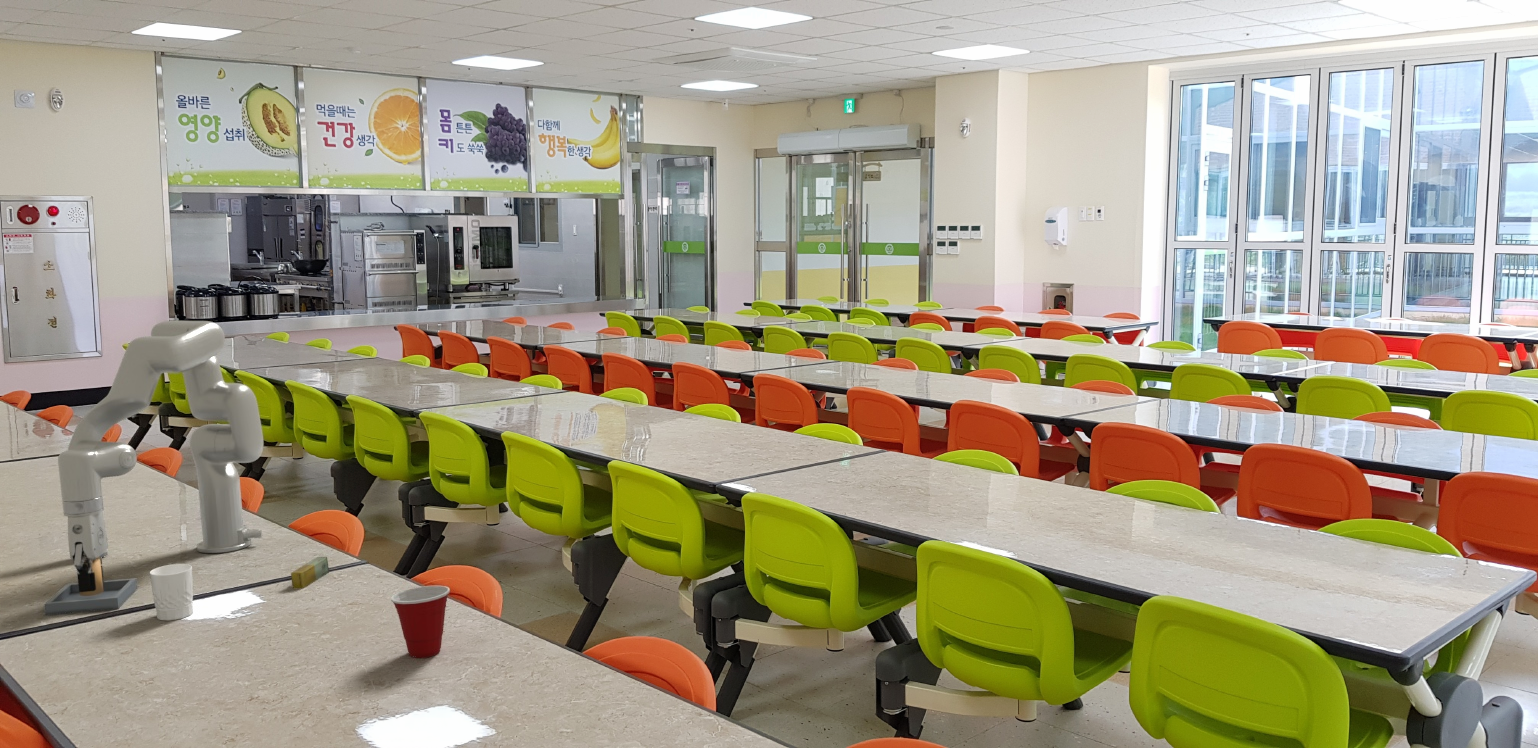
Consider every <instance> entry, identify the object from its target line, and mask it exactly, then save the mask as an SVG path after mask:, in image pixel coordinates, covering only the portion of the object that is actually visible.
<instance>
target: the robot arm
mask: <svg viewBox="0 0 1538 748" xmlns="http://www.w3.org/2000/svg"><path fill="white" fill-rule="evenodd" d="M225 338H226V336H225V332H224V330H223V328H222V327H221V326H220V325H219V324H218V323H216V322H215V321H214V322H213V321H208V320H166V321H160V322H157V323H156V324H155V325H154V326H153V327H152V329H151V332H150V336H141V337H136V338H134V339H133V340H131V341H130V342H129V343H128V345H127V347H126V349H125V352H124V353H123V357H122V359H121V362H120V365H119V367H118V370H117V371H116V372H117V373H116V375H115V378H114V380H113V383H112V384H111V388H110V390H109V392H108V394H107V395H106V396H105V397H104V398H103V399H102V400H100V401H99V402H98V403H97V404H95V405H94V406H93V407H91V408H92V409H90V410H89V411H88V412H87V413H86V414H85V415H84V416H83V417H82V418H81V420H79V422H78V424H77V425H76V426H75V429H74V432H73V434H72V436H71V439H70V442H69V445H68V447H67V450H65V451H62V452H60V453H59V455H58V457H57V465H58V472H59V473H58V476H59V484H60V493H61V502H62V510H63V511H62V512H63V516H64V517H67V537H68V551H69V556H70V560H71V561H73V562H74V563H73V566H74V567H75V569H76V575H77V583H78V586H79V592H88V591H95V590H96V582H95V572H93V568H92V560H96V559H100V562H101V572H102V582H104V581H105V580H104V570H103V560H102V559H103V558H101V555H102V554H103V553H104V552H105V551H106V550H107V551H108V549H109V542H108V540H109V539H108V534H107V529H106V528H107V527H106V523H105V516H103V514H104V510H105V508H104V507H105V506H104V497H103V491H102V490H103V489H102V479H105V478H113V477H120V476H124V475H126V474H128V473H129V472H131V471H132V470H133V469H134V467H135V466H136V464H137V461H138V460H137V459H138V454H137V452H136V450H135V449H134V448H133V447H132V446H131V445H129V444H127V443H125V442H119V441H117V442H116V441H103V440H102V439H103V438H104V436H105V434H106V433H107V432H108V431H109V430H110V429H111V428H112V427H113V426H115V425H117V424H119V422H122V421H124V420H126V419H129V418H130V417H133V416H135V415H137V414H139V413H141V412H143V411H145V410H146V409H147V408H149V406H150V405H151V402H152V399H153V397H154V393H155V391H156V388H157V385H158V383H159V380H160V378H161V375H162V374H168V373H169V374H180V373H182V377H183V381H184V386H185V392H186V396H187V401H188V405H189V410H190V412H191V414H192V416H193V417H194V418H195V419H197V420H200V421H208V422H228V423H209V424H203V425H201V426H199V427H197V428H196V429H195V430H194V431H192V434H191V436H190V439H189V448H190V453H191V455H192V459H193V461H194V466H195V470H196V476H197V477H196V478H197V485H198V499H199V510H200V521H201V533H202V535H201V536H202V541H200V542H199V543H197V544H196V551H198V552H200V553H204V554H220V553H229V552H234V551H237V550H242V549H245V548H246V547H249V546H250V545H251V544H252V539H261V538H263V531H262V530H260V529H259V528H257V529H249V528H248V527H247V526H248V525H247V524H244V518H243V505H242V493H241V480H240V475H239V472H238V469H237V468H236V466H235V464H240V463H241V464H247V463H248V464H249V463H253V462H255V461H256V460H258V459H259V458H260V457H261V456H262V453H263V452H264V450H263V449H264V434H263V427H262V421H261V417H260V410H259V404H258V401H257V396H256V395H255V393H254V391H253V390H252V389H251V387H249V386H248V385H246V384H243V383H239V382H225V380H224V377H223V373H222V369H221V364H220V361H219V359H218V357H217V355H218V354H219V353H220V352H221V351H222V349H223V348H224V345H225V341H226V340H225ZM102 511H103V512H102ZM83 557H85V558H88V559H83ZM84 562H88V566H87V564H84Z"/></svg>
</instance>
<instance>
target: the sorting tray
mask: <svg viewBox="0 0 1538 748" xmlns="http://www.w3.org/2000/svg"><path fill="white" fill-rule="evenodd" d="M137 579H138V578H137V577H134V578H121V579H110V580H104V582H103V592H102V593H100V594H96V595H91V596H81V595H80V592H79V586H78V582H74V583H66V584H65V585H64V586H63V587H62V588H61V589H60V590H58V591H57V592H56V593H55V594H54V595H53V596H51V598H49V599H48V600H46V602H45V603H44V604H43V606H44V607H43V608H44V616H54V615H65V614H67V615H68V614H76V613H78V614H79V613H88V612H98V611H101V612H102V611H111V610H119V609H120V608H122V606H123V605H124V604H125V603H126V602H127V601H128V599H129V598H130V597H131V596H132V595H134V593H135V592H136V591H137V590H138V582H137V581H138V580H137ZM136 589H137V590H136Z"/></svg>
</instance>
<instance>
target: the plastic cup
mask: <svg viewBox="0 0 1538 748" xmlns="http://www.w3.org/2000/svg"><path fill="white" fill-rule="evenodd" d="M450 591H451V590H450V587H448V586H446V585H426V586H418V587H413V588H407V589H405V590H402V591H398V592H395V594H393V595H391V596H390V601H391V602H392V604H393V605H394V607H395V609H396V613H397V615H398V620H399V622H400V626H401V630H402V634H403V638H404V640H405V644H406V649H407V652H408V656H410V657H412V658H415V659H421V658H422V659H423V658H425V659H426V658H429V657H434V656H436V655H438V654H439V653H440V652H441V649H442V642H443V635H444V627H445V616H446V608H447V601H448V595H449V594H450Z"/></svg>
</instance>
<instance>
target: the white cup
mask: <svg viewBox="0 0 1538 748" xmlns="http://www.w3.org/2000/svg"><path fill="white" fill-rule="evenodd" d="M149 576H150V577H149V579H150V586H151V591H152V597H153V602H154V607H155V612H156V618H157V619H158V620H160V621H177V620H180V619H184V618H187V617H190V616H191V615H192V614H193V612H194V611H193V609H194V608H193V601H194V591H193V589H194V588H193V587H194V584H193V583H194V581H193V566H192V565H191V564H187V563H175V564H174V563H172V564H168V565H167V564H166V565H163V566H159V567H156V568H153V569H152V570H150V571H149Z"/></svg>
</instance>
